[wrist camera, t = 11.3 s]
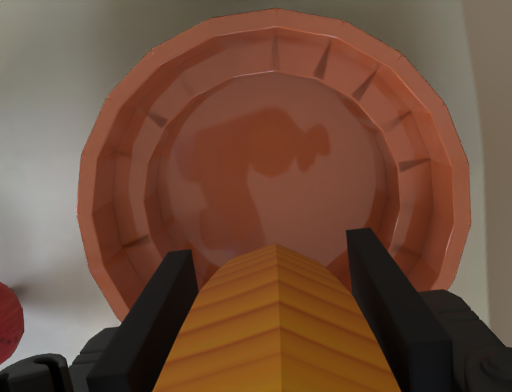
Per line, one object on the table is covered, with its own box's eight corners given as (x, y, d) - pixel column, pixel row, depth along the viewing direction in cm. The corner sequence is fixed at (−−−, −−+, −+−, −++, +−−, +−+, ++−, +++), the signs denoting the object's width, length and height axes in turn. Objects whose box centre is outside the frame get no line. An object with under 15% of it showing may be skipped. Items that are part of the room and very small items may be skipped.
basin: (151, 342, 30) (120, 407, 24) (92, 56, 26) (35, 44, 20) (432, 311, 29) (477, 371, 23) (414, 7, 25) (462, -22, 19)
